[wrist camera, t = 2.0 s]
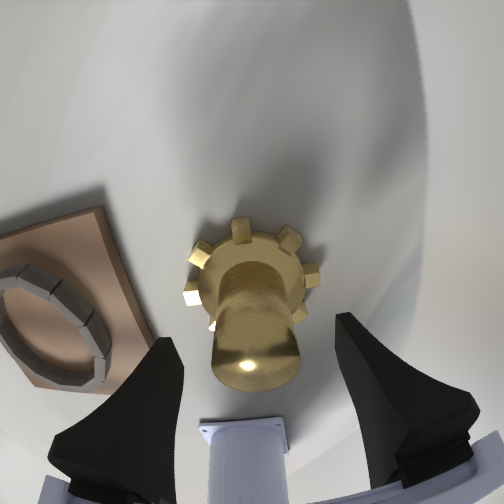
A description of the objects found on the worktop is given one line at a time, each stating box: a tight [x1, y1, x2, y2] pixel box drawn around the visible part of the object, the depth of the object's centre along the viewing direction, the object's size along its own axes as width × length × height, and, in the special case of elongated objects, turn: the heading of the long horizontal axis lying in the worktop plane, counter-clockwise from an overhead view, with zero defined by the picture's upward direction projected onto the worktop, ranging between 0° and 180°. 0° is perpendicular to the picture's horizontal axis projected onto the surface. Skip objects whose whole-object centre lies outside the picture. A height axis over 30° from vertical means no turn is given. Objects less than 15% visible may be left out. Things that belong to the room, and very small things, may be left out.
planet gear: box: [184, 216, 320, 392], centre depth 14 cm, size 8×8×7 cm
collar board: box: [0, 205, 155, 395], centre depth 18 cm, size 15×16×3 cm
